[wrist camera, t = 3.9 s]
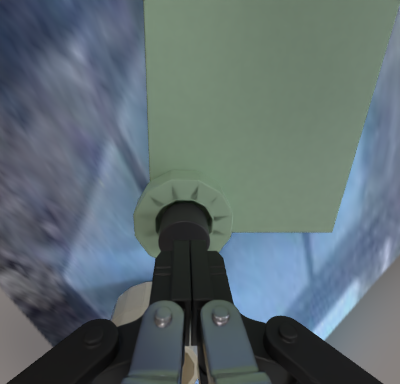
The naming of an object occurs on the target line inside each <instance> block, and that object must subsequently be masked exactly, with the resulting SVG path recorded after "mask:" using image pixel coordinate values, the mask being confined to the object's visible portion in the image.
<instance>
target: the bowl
mask: <svg viewBox="0 0 400 384" xmlns="http://www.w3.org/2000/svg"><path fill="white" fill-rule="evenodd" d="M151 287H152V281H151V282H144V283H141V284H138V285H135V286H133V287H131V288H129V289H128V290H126V291H125V292H124V293H123V294H122V295H120V296H119V297H118V299H117V301H116V304H115V306H114V308H113V312H112V315H111V319H110V321H112V322H113V323H114V324H115V325H116V326H121V325H124V324H127V323H130V322H133V321H135V320H137V319H138V318H139V317H141V316H142V315H143V314H144V312H145V310H146V309H147V308H148V306H149V301H150V294H151ZM197 358H198V356H197V346H191V332H190V340H189V346H185V360H184V365H183V367H182V382H181V384H194V383H195V382H196V380H197V379H198V372H197Z"/></svg>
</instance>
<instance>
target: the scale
mask: <svg viewBox="0 0 400 384" xmlns="http://www.w3.org/2000/svg"><path fill="white" fill-rule="evenodd" d="M399 5H400V0H143V6H144V34H145V62H146V90H147V118H148V146H149V174H150V182H149V183H148V185H147V186H146V188H145V190H144V191H143V193H142V195H141V196H140V198H139V200H138V202H137V205H136V208H135V211H134V214H133V216H134V231H135V237H136V238H137V240H138V241H139V242H140V244H141V245H142V246H143V248H144V249H145V250H146V252H147V253H148V254H149V255H150V256H152V257H154V258H156V257H157V256H158V255H159V253H160V252H161V251H160V249H159V245H158V239H159V231H160V224H161V218H162V215H163V214H164V212H165V211H166V210H167V209H168V208H169V207H171V206H172V205H175V204H178V203H191V204H194V205H196V206H197V207H199V208H200V209H201V210H202V211H203V212H204V214H205V216H206V220H207V225H208V231H209V236H210V246H209V249H208V251H217V252H218V253H219V251H220V250H221V249H222V247H223V246H224V245H225V244H226V242H227V241H228V240H229V239H230V237H231V232H332V231H333V227H334V224H335V221H336V217H337V214H338V211H339V207H340V204H341V200H342V197H343V194H344V190H345V187H346V184H347V180H348V177H349V173H350V170H351V167H352V163H353V160H354V157H355V153H356V150H357V146H358V143H359V140H360V136H361V133H362V130H363V126H364V123H365V119H366V116H367V113H368V109H369V106H370V103H371V99H372V96H373V92H374V89H375V86H376V82H377V79H378V76H379V72H380V69H381V66H382V62H383V59H384V55H385V52H386V49H387V45H388V42H389V39H390V35H391V32H392V28H393V25H394V22H395V18H396V15H397V12H398V8H399Z"/></svg>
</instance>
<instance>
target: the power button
mask: <svg viewBox="0 0 400 384" xmlns="http://www.w3.org/2000/svg"><path fill="white" fill-rule="evenodd" d="M173 240H189V247H190V240H206V246H207V251H208V249H209V246H210V236H209V231H208V225H207V220H206V216H205V214H204V212H203V211H202V210H201V209H200V208H199V207H197V206H196V205H194V204H191V203H178V204H175V205H172V206H171V207H169V208H168V209H167V210H166V211H165V212H164V214H163V215H162V218H161V224H160V231H159V239H158V245H159V249H160V251H173Z"/></svg>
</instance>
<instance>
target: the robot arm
mask: <svg viewBox="0 0 400 384" xmlns="http://www.w3.org/2000/svg"><path fill="white" fill-rule="evenodd" d="M190 332H191V346H197V356H198V358H197V372H198V380H199V384H383V383H381V382H380V381H378V380H377V379H376V378H375V377H373V376H372V375H371V374H369V373H368V372H366V371H365V370H364V369H362V368H361V367H359V366H358V365H357V364H355V363H354V362H353V361H351V360H350V359H349V358H347V357H346V356H344V355H343V354H342V353H340V352H339V351H337V350H336V349H335V348H333V347H332V346H331V345H329V344H328V343H326V342H325V341H324V340H322V339H321V338H320V337H318V336H317V335H315V334H314V333H313V332H311V331H310V330H309V329H307V328H306V327H304V326H303V325H302V324H300V323H299V322H297V321H296V320H294V319H292V318H290V317H286V316H275V317H272V318H271V319H269V320H268V322H267V324H266V323H263V322H259V321H255V320H252V319H249V318H247V317H245V316H244V315H242V314H241V313H240V312H239V310H238V309H237V308H236V307H235V306H234V303H233V300H232V295H231V291H230V287H229V282H228V278H227V275H226V269H225V265H224V260H223V258H222V256H221V255H220V254H219V253H218V252H217V251H207V246H206V240H190V247H189V240H173V251H161V252H160V253H159V255H158V256H157V257H156V259H155V266H154V273H153V280H152V287H151V294H150V301H149V306H148V308H147V309H146V310H145V312H144V314H143V315H142V316H141V317H139V318H138V319H137V320H135V321H133V322H130V323H127V324H124V325H121V326H116V325H115V324H114V323H113V322H112V321H110V320H107V319H95V320H91V321H89V322H87V323H85V324H83V325H82V326H81V327H79V328H78V329H77V330H75V331H74V332H73V333H71V334H70V335H69V336H68V337H66V338H65V339H64V340H62V341H61V342H60V343H58V344H57V345H56V346H55V347H53V348H52V349H51V350H49V351H48V352H47V353H45V354H44V355H43V356H42V357H40V358H39V359H38V360H37V361H35V362H34V363H33V364H31V365H30V366H29V367H27V368H26V369H25V370H24V371H22V372H21V373H20V374H18V375H17V376H16V377H14V378H13V379H12V380H10V381H9V382H8V383H7V384H181V382H182V367H183V365H184V360H185V346H189V340H190Z"/></svg>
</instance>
